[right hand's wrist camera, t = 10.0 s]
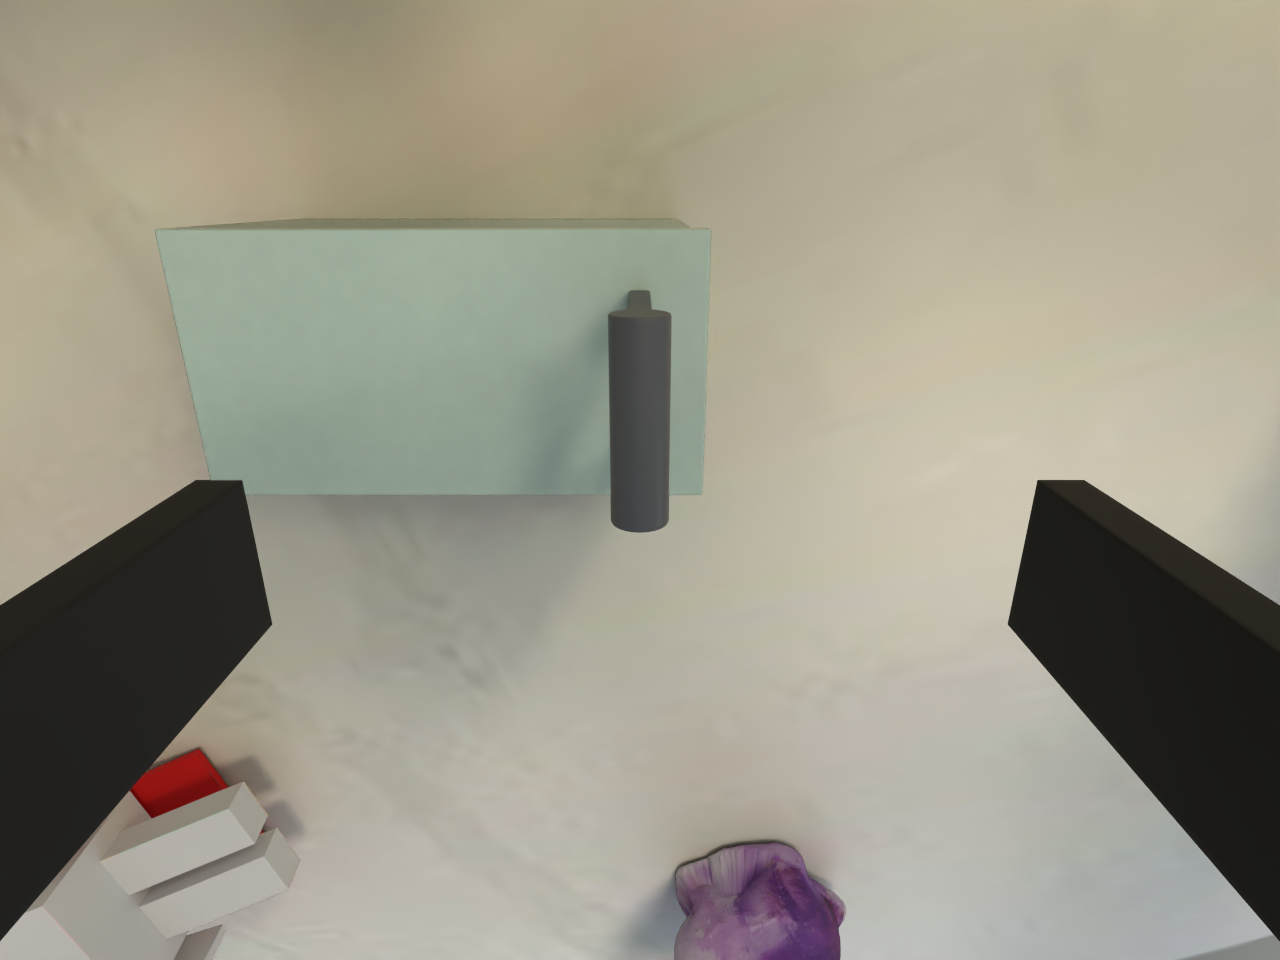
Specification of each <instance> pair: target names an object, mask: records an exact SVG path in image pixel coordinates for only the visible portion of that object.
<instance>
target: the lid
mask: <svg viewBox="0 0 1280 960" xmlns="http://www.w3.org/2000/svg"><path fill="white" fill-rule="evenodd" d="M155 234H156V238H157V243H158V247H159V252H160V256H161V261H162V265H163V270H164V274H165V279H166V283H167V287H168V292H169V296H170V301H171V305H172V310H173V314H174V319H175V323H176V328H177V332H178V337H179V341H180V346H181V350H182V354H183V359H184V363H185V368H186V372H187V377H188V381H189V386H190V390H191V395H192V399H193V404H194V408H195V413H196V417H197V421H198V426H199V430H200V435H201V439H202V444H203V448H204V453H205V457H206V462H207V466H208V471H209V475H210V480H242V481H243V486H244V491H245V495H611V521H612V523H613V525H614V526H615V527H617V528H619V529H621V530H625V531H629V532H650V531H655V530H658V529H661V528H663V527H664V526H665V525H666V524H667V523H668V520H669V495H702V493H703V467H704V437H705V407H706V376H707V346H708V315H709V285H710V255H711V230H710V229H708V228H165V229H156V230H155Z"/></svg>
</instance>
